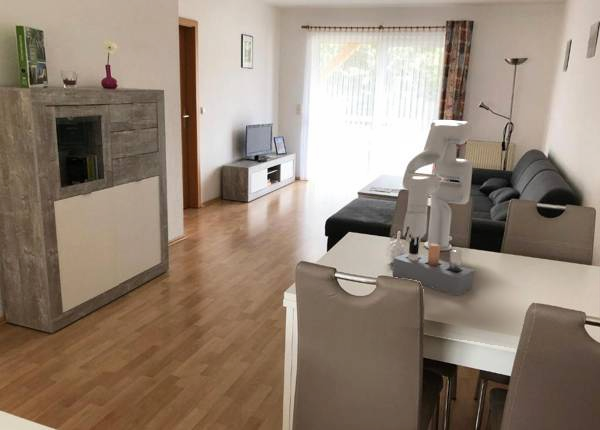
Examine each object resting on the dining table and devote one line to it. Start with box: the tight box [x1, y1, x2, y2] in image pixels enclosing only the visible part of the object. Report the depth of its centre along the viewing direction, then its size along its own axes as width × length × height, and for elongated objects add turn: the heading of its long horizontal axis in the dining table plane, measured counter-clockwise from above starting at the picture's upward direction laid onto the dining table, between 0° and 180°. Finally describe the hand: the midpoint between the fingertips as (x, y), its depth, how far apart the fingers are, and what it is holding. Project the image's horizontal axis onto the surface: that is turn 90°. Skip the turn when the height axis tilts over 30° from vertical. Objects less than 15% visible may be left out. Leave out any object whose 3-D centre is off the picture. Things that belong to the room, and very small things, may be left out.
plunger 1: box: [407, 252, 420, 261], centre depth 201 cm, size 4×4×8 cm
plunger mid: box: [427, 244, 441, 267], centre depth 193 cm, size 4×4×8 cm
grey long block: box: [392, 252, 476, 297], centre depth 195 cm, size 12×28×7 cm, turn 44°
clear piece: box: [448, 248, 463, 273], centre depth 187 cm, size 4×4×8 cm
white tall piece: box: [386, 230, 406, 264], centre depth 214 cm, size 8×6×14 cm
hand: (413, 253), depth 199 cm, fingers closed
